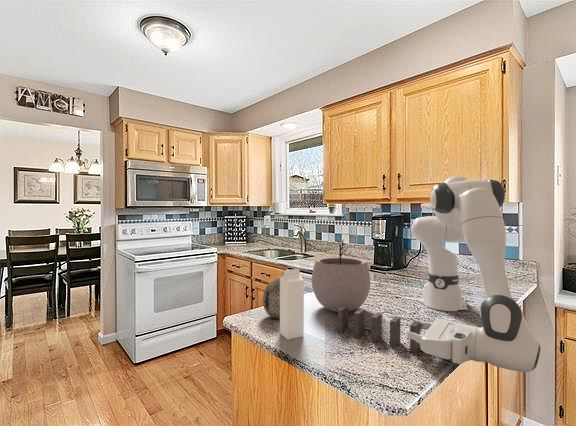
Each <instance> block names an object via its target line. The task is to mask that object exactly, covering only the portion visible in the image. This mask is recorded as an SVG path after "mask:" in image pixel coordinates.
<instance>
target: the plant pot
mask: <svg viewBox="0 0 576 426" xmlns="http://www.w3.org/2000/svg"><path fill="white" fill-rule="evenodd" d="M341 240H342V242H340V241H339V240H338V239H337V237H336V241H337V243H338V244H339V256H337V255H335V256H323V257H317V258H316V259H315V261H314V265H313V269H312V274H311V286H312V291H313V293H314V296H315V298H316V300H317V302H319V304H320V305H321V306H323V307H324V308H326V309H327V310H329V311H332V312H336V313H338V309H339V308H341V307H343V306H344V305H345V306H349V312H353V311H355V310H357V309H358V308H360V307H362V305H363V304H364V303H365V302H366V300H367V298H368V296H369V294H370V288H371V278H370V277H371V276H370V271H369V265H368V262H367V260H366V259H364V258H359V257H352V256H344V255H343V254H344V252H346V251H347V248H345V249H344V246H345V245H346V243H345V242H344V239H343V238H342V239H341ZM343 249H344V250H343ZM342 250H343V251H342Z"/></svg>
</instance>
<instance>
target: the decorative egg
mask: <svg viewBox="0 0 576 426" xmlns="http://www.w3.org/2000/svg"><path fill="white" fill-rule="evenodd" d="M262 305H263V308H264V309H263V310H264V311H265V313H266V314H267V315H268V316H270V317H271V318H273V319H280V278H275V279H272V280H271V281H270V282H269V283H268V284H267V285H266V286H265V288H264V291H263V296H262Z"/></svg>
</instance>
